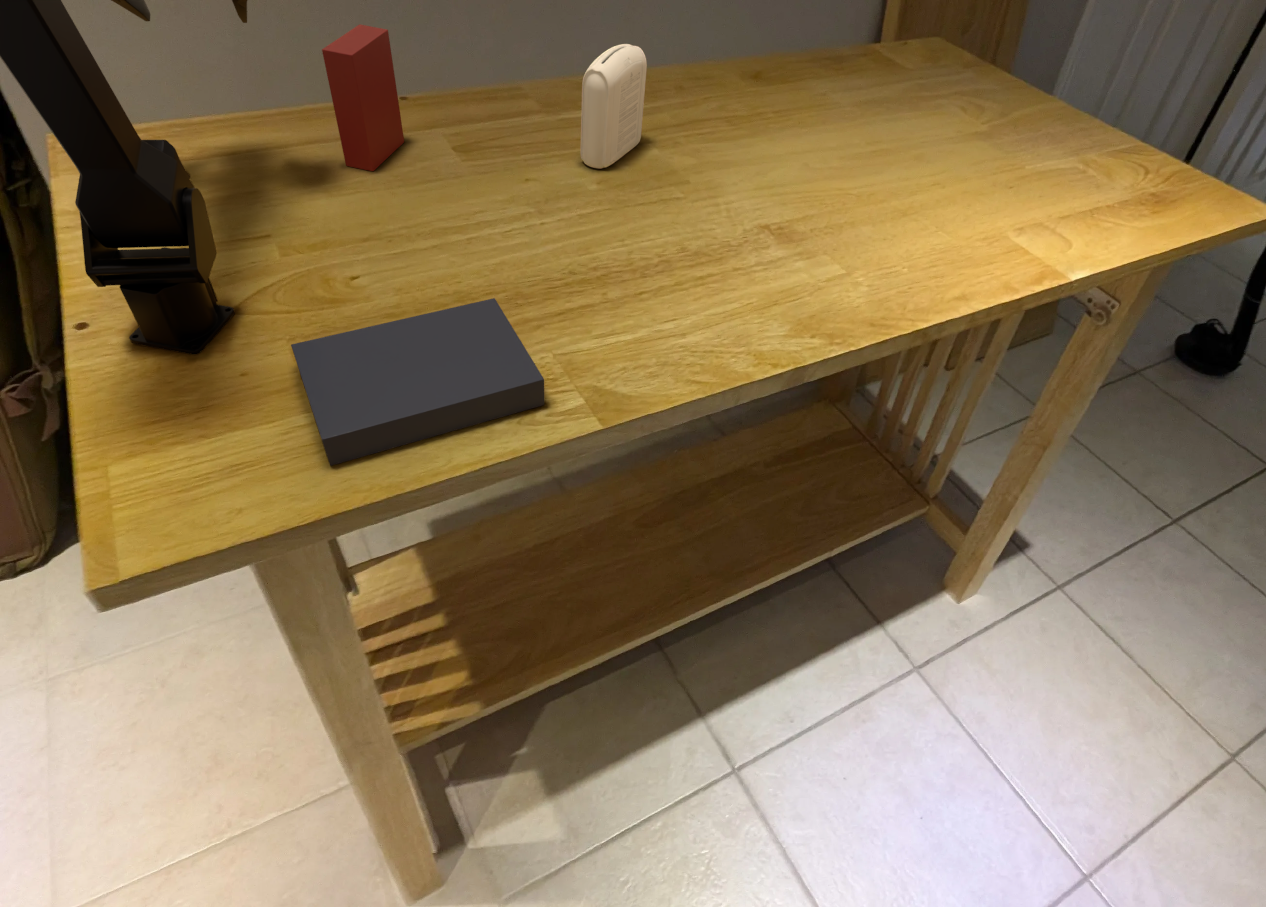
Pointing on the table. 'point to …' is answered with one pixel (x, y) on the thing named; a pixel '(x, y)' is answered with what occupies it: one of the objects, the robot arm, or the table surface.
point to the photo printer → (612, 105)
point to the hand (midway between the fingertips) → (197, 18)
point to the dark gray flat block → (416, 379)
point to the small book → (364, 96)
